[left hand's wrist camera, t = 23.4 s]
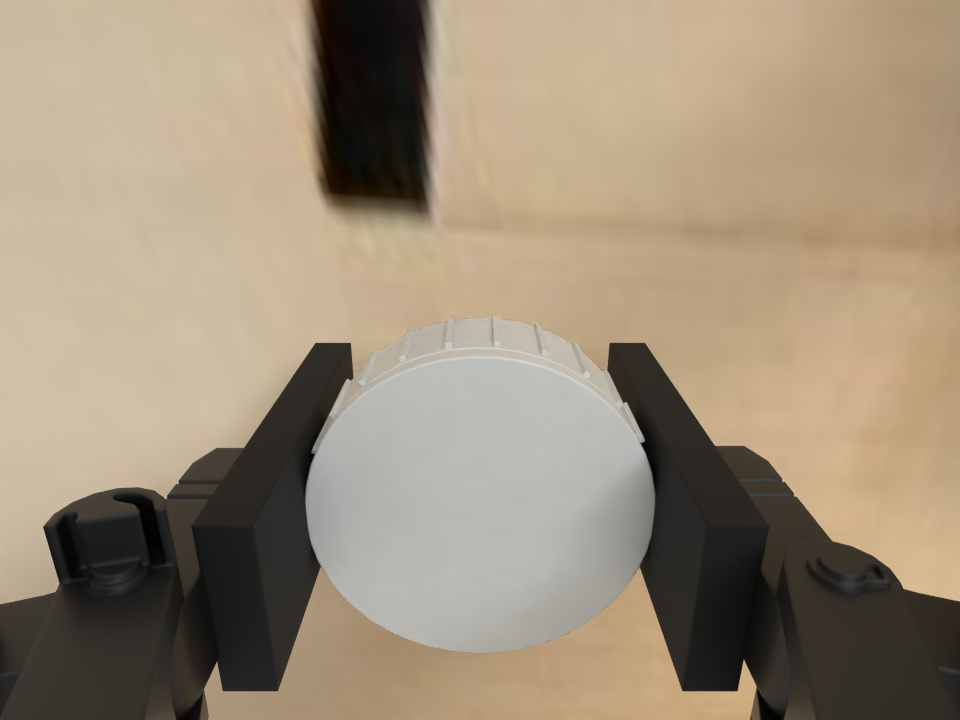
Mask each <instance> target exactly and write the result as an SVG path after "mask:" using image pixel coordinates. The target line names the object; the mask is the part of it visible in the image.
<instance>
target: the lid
mask: <svg viewBox="0 0 960 720" xmlns="http://www.w3.org/2000/svg"><path fill="white" fill-rule="evenodd" d="M642 442H645V439H644V437H643V435H642V433H641V431H640V429H639V427H638V425H637V423H636V420H635V418H634V416H633V414H632V412H631V410H630V408H629V406H628V404H627V402H625V403H623V402H622V400H621V398H620V395H619V393H618V391H617V389H616V387H615V385H614V383H613V381H612V379H611V376H610V374H609V373H608V371H607V370H606V369H605V370H604V371H601V370H600V369H599V368H598V367H597V366H596V365H595V364H594V363H593V361H592V360H591V359H590V358H588V357H587V356H586V355H585V354H583V353H582V350H581V348H580V346H579V345H578V344H577V343H575V342H574V344H573V345H571V344H570V343H568V342H566V341H565V340H563V339H561V338H560V337H558V336H556V335H554V334H552V333H549V332H547V331H544V330H543V328H542V325H540V324H536V325H535V327H534V326H531V325H527V324H524V323H520V322H517V321H510V320H503V319H499V315H493V316H492V318H466V319H456V320H455V317H454V316H452V317H448V321H445V322H441V323H437V324H432V325H429V326H427V327H424V328H421V329H418V330H416V331H413V329H412V328H411V329H409V330H407V331H406V334H405V336H403V337H401V338H399V339H397V340H395V341H394V342H392V343H391V344H389V345H388V346H386V347H385V348H384V349H382V350H381V351H379V352H377V351H376V350H374V351H373V352H372V353H371V355H370V357H369V359H368V361H367V363H366V364H365V365H364V366H363V367H362V368H361V369H360V371H359V372H358V373H357V374H356V376H355V377H354V378H353V379H352V381H351V380H349V379H347V380H346V381H345V383H344V385H343V387H342V389H341V391H340V393H339V395H338V397H337V399H336V401H335V404H334V406H333V408H332V410H331V412H330V414H329V416H328V418H327V420H326V422H325V424H324V426H323V428H322V430H321V432H320V434H319V436H318V438H317V440H316V442H315V444H314V447H313V449H312V452H311V453H313V454H315V455H314V458H313V460H312V463H311V465H310V470H309V474H308V478H307V483H306V492H305V505H306V514H307V523H308V531H309V537H310V541H311V545H312V547H313V550H314V552H315V555H316V557H317V559H318V562H319V564H320V565H321V567H322V569H323V570H324V572H325V574H326V576H327V577H328V579H329V580H330V581H331V583H332V584H333V585H334V587H335V588H336V589H337V590H338V592H339V593H340V594H341V595H342V596H343V597H344V598H345V599H346V600H347V601H348V602H349V603H350V604H351V605H352V606H353V607H354V608H355V609H356V610H358V611H359V612H360V613H362V614H363V615H364V616H365V617H367V618H368V619H369V620H371V621H373V622H374V623H376V624H377V625H379V626H381V627H382V628H384V629H386V630H387V631H390V632H392V633H394V634H396V635H398V636H400V637H403V638H405V639H407V640H410V641H413V642H416V643H419V644H422V645H425V646H430V647H434V648H439V649H443V650H449V651H458V652H466V653H492V652H504V651H511V650H517V649H522V648H528V647H531V646H535V645H538V644H541V643H545V642H548V641H550V640H553V639H555V638H558V637H560V636H563V635H565V634H567V633H569V632H571V631H573V630H574V629H576V628H578V627H580V626H582V625H584V624H585V623H587V622H588V621H589V620H591V619H592V618H594V617H595V616H597V615H598V614H599V613H601V612H602V611H603V610H604V609H605V608H606V607H607V606H608V605H610V604H611V603H612V602H613V601H614V600H615V599H616V598H617V597H618V596H619V594H620V593H621V592H622V591H623V590H624V589H625V588H626V586H627V585H628V584H629V582H630V581H631V579H632V578H633V576H634V575H635V573H636V572H637V570H638V569H639V567H640V564H641V562H642V560H643V558H644V556H645V554H646V552H647V549H648V546H649V542H650V539H651V535H652V527H653V519H654V510H655V487H654V481H653V475H652V471H651V468H650V465H649V462H648V459H647V456H646V453H645V451H644V449H643V447H642V445H641V443H642Z"/></svg>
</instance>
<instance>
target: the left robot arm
mask: <svg viewBox="0 0 960 720" xmlns="http://www.w3.org/2000/svg"><path fill="white" fill-rule="evenodd" d="M608 373H609V374H610V376H611V379H612V381H613V383H614V385H615V387H616V389H617V391H618V393H619V395H620V398H621V400H622V402H623V403H625V402H627V404H628V406H629V408H630V410H631V412H632V414H633V416H634V418H635V420H636V423H637V425H638V427H639V429H640V431H641V433H642V435H643V437H644V439H645V442H642V443H641V445H642V447H643V449H644V451H645V453H646V456H647V459H648V462H649V465H650V468H651V471H652V475H653V481H654V487H655V510H654V519H653V527H652V535H651V539H650V542H649V546H648V549H647V552H646V554H645V556H644V558H643V560H642V562H641V564H640V569H641V571H642V574H643V577H644V580H645V583H646V586H647V589H648V592H649V595H650V598H651V601H652V604H653V606H654V609H655V612H656V615H657V618H658V621H659V624H660V627H661V630H662V633H663V636H664V639H665V641H666V644H667V647H668V650H669V653H670V656H671V659H672V662H673V665H674V668H675V671H676V674H677V676H678V679H679V682H680V685H681V688H682V691H738V685H739V680H740V675H741V670H742V665H743V660H745V662H746V664H747V667H748V669H749V671H750V673H751V675H752V677H753V679H754V681H755V683H756V686H757V688H756V693H755V698H754V702H753V707H752V712H751V717H750V720H960V602H959V601H954V600H949V599H945V598H940V597H935V596H930V595H925V594H921V593H916V592H913V591H909V590H905V589H903V587H902V585H901V583H900V581H899V580H898V579H897V577H896V576H895V575H894V573H893V572H892V571H891V569H890V568H888V567H887V566H886V565H884V564H883V563H882V562H880V561H879V560H877V559H876V558H875V557H873V556H872V555H869V554H867V553H865V552H863V551H861V550H859V549H856V548H854V547H852V546H848V545H844V544H840V543H837V542H833V541H832V540H831V539H830V538H829V537H828V535H827V534H826V533H825V532H824V530H823V529H822V528H821V527H820V525H819V524H818V523H817V522H816V520H815V519H814V518H813V517H812V515H811V514H810V513H809V512H808V510H807V509H806V508H805V507H804V505H803V504H802V503H801V502H800V500H799V499H798V498H797V497H794V493H793V492H792V490H791V489H790V488H789V487H788V485H787V484H786V483H785V482H782V478H781V477H780V475H779V474H778V473H777V472H776V470H775V469H774V468H773V467H772V465H771V464H770V463H769V462H768V461H767V460H765V459H764V458H762V457H761V456H759V455H758V454H756V453H754V452H753V451H751V450H750V449H748V448H746V447H745V446H715V445H714V444H713V442H712V441H711V440H710V438H709V437H708V435H707V434H706V432H705V431H704V429H703V428H702V426H701V425H700V423H699V422H698V420H697V419H696V418H695V416H694V415H693V413H692V412H691V410H690V409H689V407H688V406H687V404H686V403H685V401H684V400H683V398H682V397H681V395H680V394H679V393H678V391H677V390H676V388H675V387H674V385H673V384H672V382H671V381H670V379H669V378H668V376H667V375H666V373H665V372H664V371H663V369H662V368H661V366H660V365H659V363H658V362H657V360H656V359H655V357H654V356H653V354H652V353H651V351H650V350H649V349H648V347H647V346H646V344H645V343H610V346H609V359H608ZM347 379H349V380H351V381H352V379H353V366H352V353H351V343H315V345H314V346H313V348H312V349H311V351H310V352H309V354H308V355H307V356H306V358H305V359H304V361H303V362H302V364H301V365H300V367H299V368H298V370H297V371H296V373H295V374H294V376H293V377H292V379H291V380H290V381H289V383H288V384H287V386H286V387H285V389H284V390H283V392H282V393H281V395H280V396H279V398H278V399H277V401H276V402H275V403H274V405H273V406H272V408H271V409H270V411H269V412H268V414H267V415H266V417H265V418H264V420H263V421H262V423H261V424H260V425H259V427H258V428H257V430H256V431H255V433H254V434H253V436H252V437H251V439H250V440H249V442H248V443H247V445H246V446H245V448H216V449H214V450H213V451H211V452H210V453H208V454H207V455H205V456H203V457H202V458H200V459H199V460H197V461H196V462H194V463H193V464H192V465H191V466H190V467H189V469H188V470H187V471H186V472H185V474H184V475H183V476H182V478H181V479H180V480H179V484H176V485H175V486H174V488H173V489H172V490H171V491H170V493H169V494H168V495H167V499H164V497H162V496H161V495H160V494H158V493H157V492H156V491H153V490H149V489H144V488H139V487H136V488H117V489H112V490H108V491H104V492H99V493H95V494H92V495H90V496H87V497H85V498H82V499H80V500H77V501H75V502H72V503H71V504H69V505H68V506H66V507H65V508H63V509H61V510H60V511H58V512H57V513H55V514H54V515H53V516H52V517H51V518H50V520H49V521H48V522H47V523H46V524H45V525H44V526H43V528H44V531H45V535H46V538H47V542H48V545H49V549H50V552H51V555H52V559H53V562H54V566H55V569H56V573H57V576H58V579H59V583H60V584H59V586H58V588H57V591H56V592H55V593H51V594H47V595H44V596H39V597H34V598H29V599H25V600H20V601H15V602H10V603H5V604H1V605H0V720H208V716H209V715H208V709H207V703H206V698H205V693H204V688H205V686H206V684H207V681H208V679H209V677H210V675H211V673H212V671H213V669H214V667H215V664H216V662H217V663H218V668H219V673H220V678H221V683H222V688H223V691H278V689H279V686H280V683H281V681H282V678H283V675H284V672H285V669H286V666H287V663H288V660H289V657H290V654H291V651H292V648H293V646H294V643H295V640H296V637H297V634H298V631H299V628H300V625H301V622H302V619H303V616H304V613H305V611H306V608H307V605H308V602H309V599H310V596H311V593H312V590H313V587H314V584H315V581H316V578H317V576H318V573H319V570H320V567H321V565H320V564H319V562H318V559H317V557H316V555H315V552H314V550H313V547H312V545H311V541H310V537H309V531H308V523H307V514H306V505H305V492H306V483H307V478H308V474H309V470H310V465H311V463H312V460H313V458H314V455H315V454H313V453H311V452H312V449H313V447H314V444H315V442H316V440H317V438H318V436H319V434H320V432H321V430H322V428H323V426H324V424H325V422H326V420H327V418H328V416H329V414H330V412H331V410H332V408H333V406H334V404H335V401H336V399H337V397H338V395H339V393H340V391H341V389H342V387H343V385H344V383H345V381H346V380H347Z"/></svg>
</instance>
